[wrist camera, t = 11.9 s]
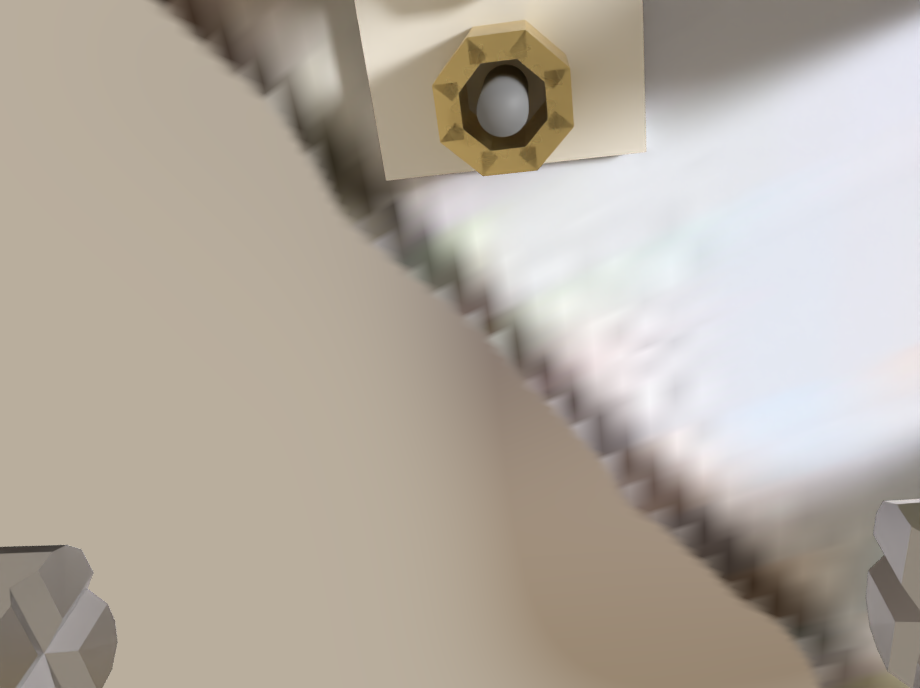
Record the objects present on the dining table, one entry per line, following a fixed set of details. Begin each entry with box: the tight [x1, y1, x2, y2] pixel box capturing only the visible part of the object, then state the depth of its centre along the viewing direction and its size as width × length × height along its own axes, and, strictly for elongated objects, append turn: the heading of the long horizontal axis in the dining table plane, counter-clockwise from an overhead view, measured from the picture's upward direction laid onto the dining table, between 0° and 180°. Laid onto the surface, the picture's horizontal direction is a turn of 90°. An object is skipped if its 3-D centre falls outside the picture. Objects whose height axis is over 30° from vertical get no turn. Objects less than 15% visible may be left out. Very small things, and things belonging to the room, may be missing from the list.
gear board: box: [354, 0, 646, 181], centre depth 31 cm, size 14×12×6 cm
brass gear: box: [432, 20, 574, 176], centre depth 33 cm, size 5×5×4 cm
